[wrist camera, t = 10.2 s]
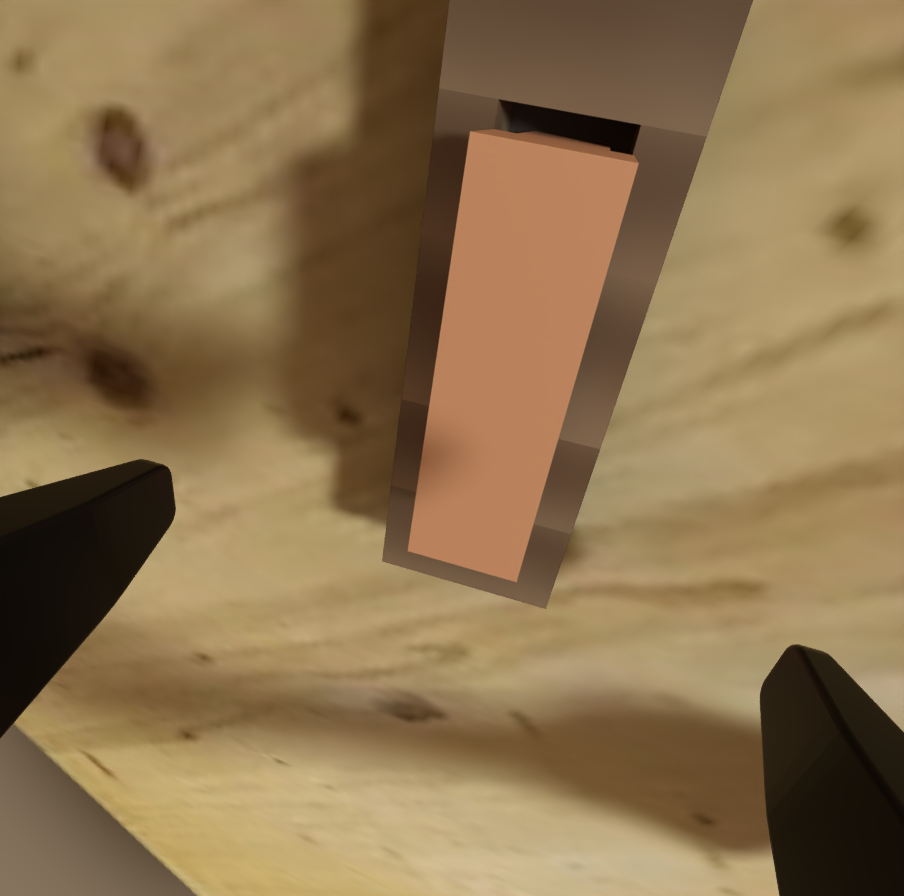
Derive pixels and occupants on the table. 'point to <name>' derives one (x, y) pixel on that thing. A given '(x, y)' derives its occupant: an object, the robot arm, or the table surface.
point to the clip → (513, 337)
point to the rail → (641, 232)
